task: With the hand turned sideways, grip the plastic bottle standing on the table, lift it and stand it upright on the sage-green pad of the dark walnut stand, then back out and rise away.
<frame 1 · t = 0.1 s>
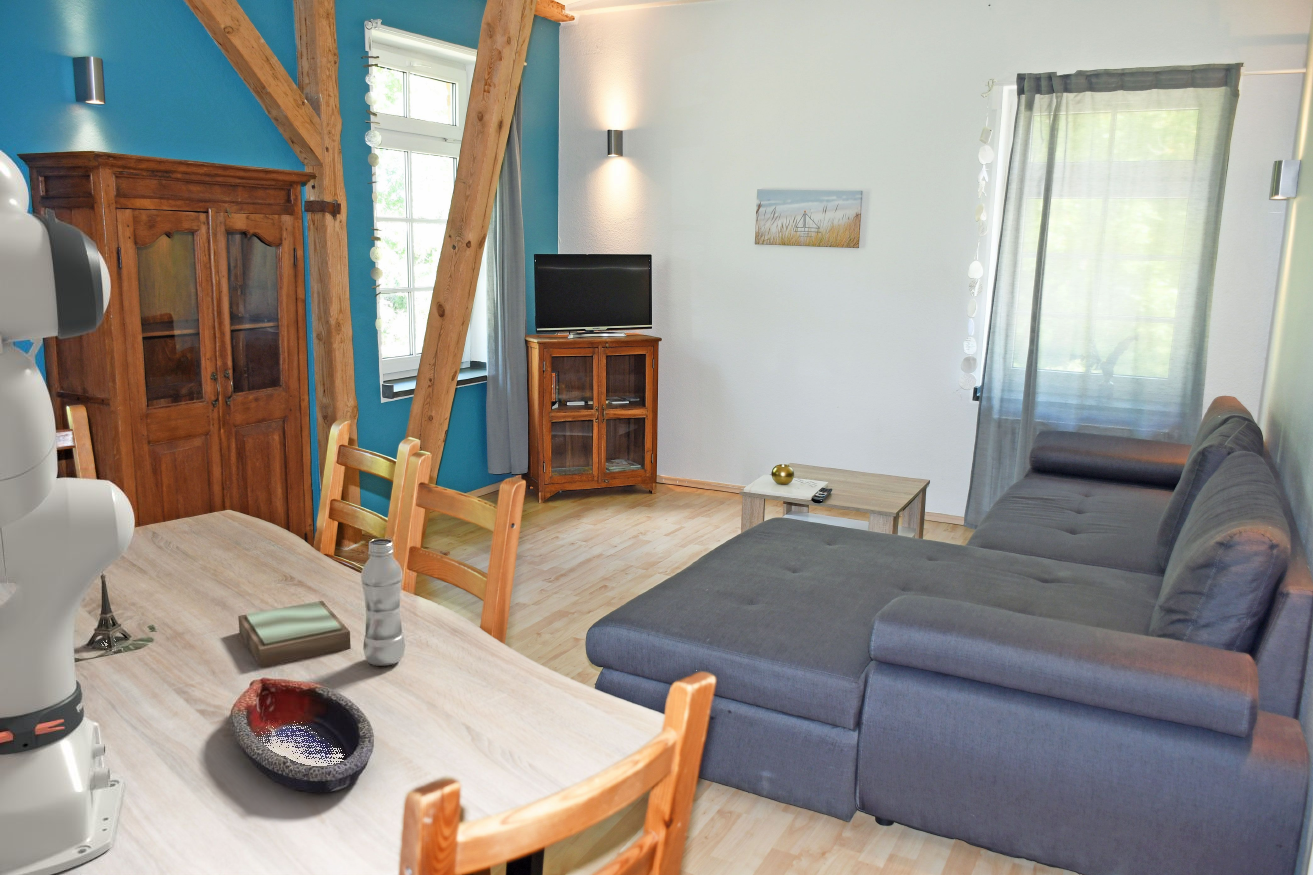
eiffel tower figurine: (108, 648, 159), on the table
dish: (301, 749, 129), on the table
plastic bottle: (384, 663, 155), on the table
walnut stand: (294, 640, 162), on the table
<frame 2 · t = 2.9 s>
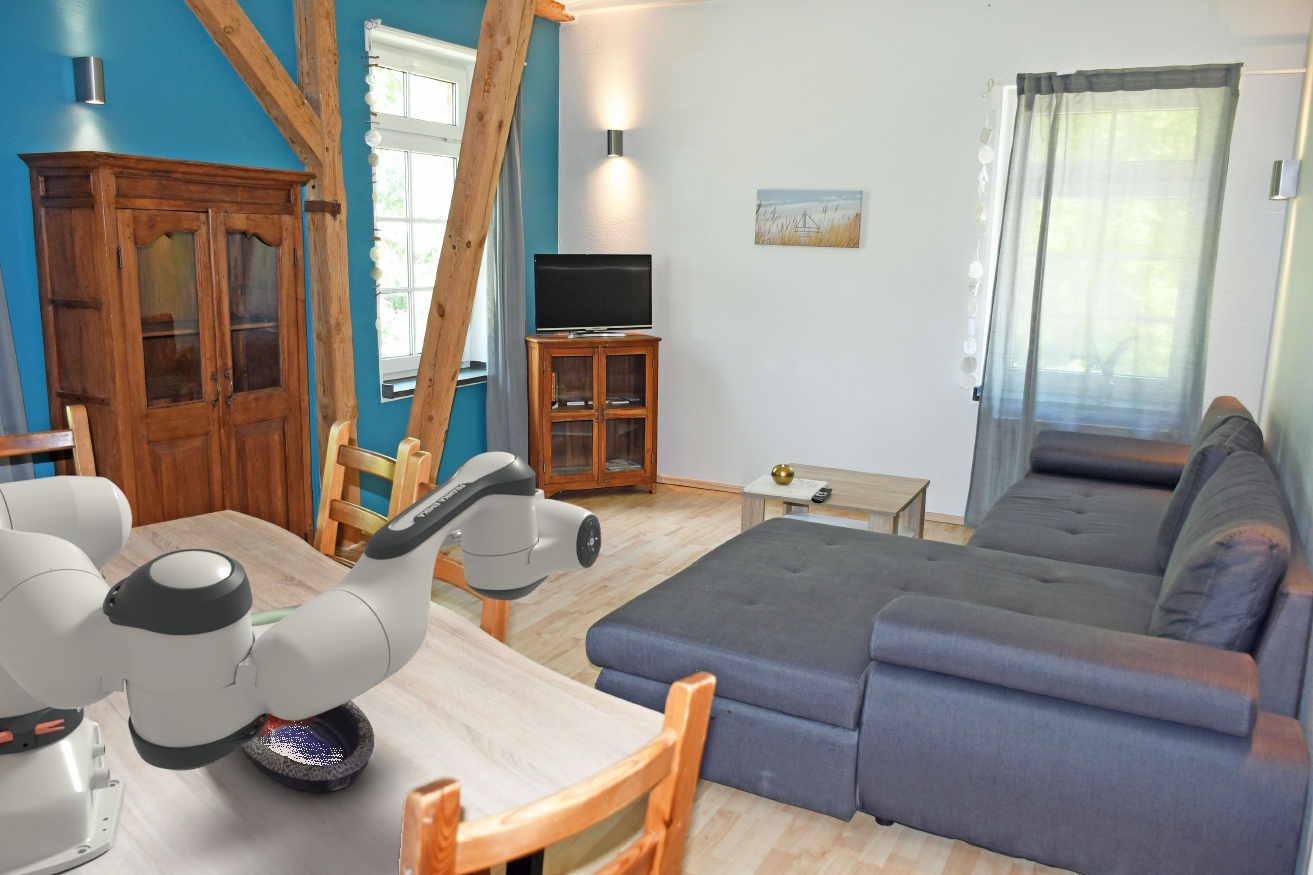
hand: (434, 509, 142), 28 cm above the table, tool horizontal, fingers open, 8 cm apart
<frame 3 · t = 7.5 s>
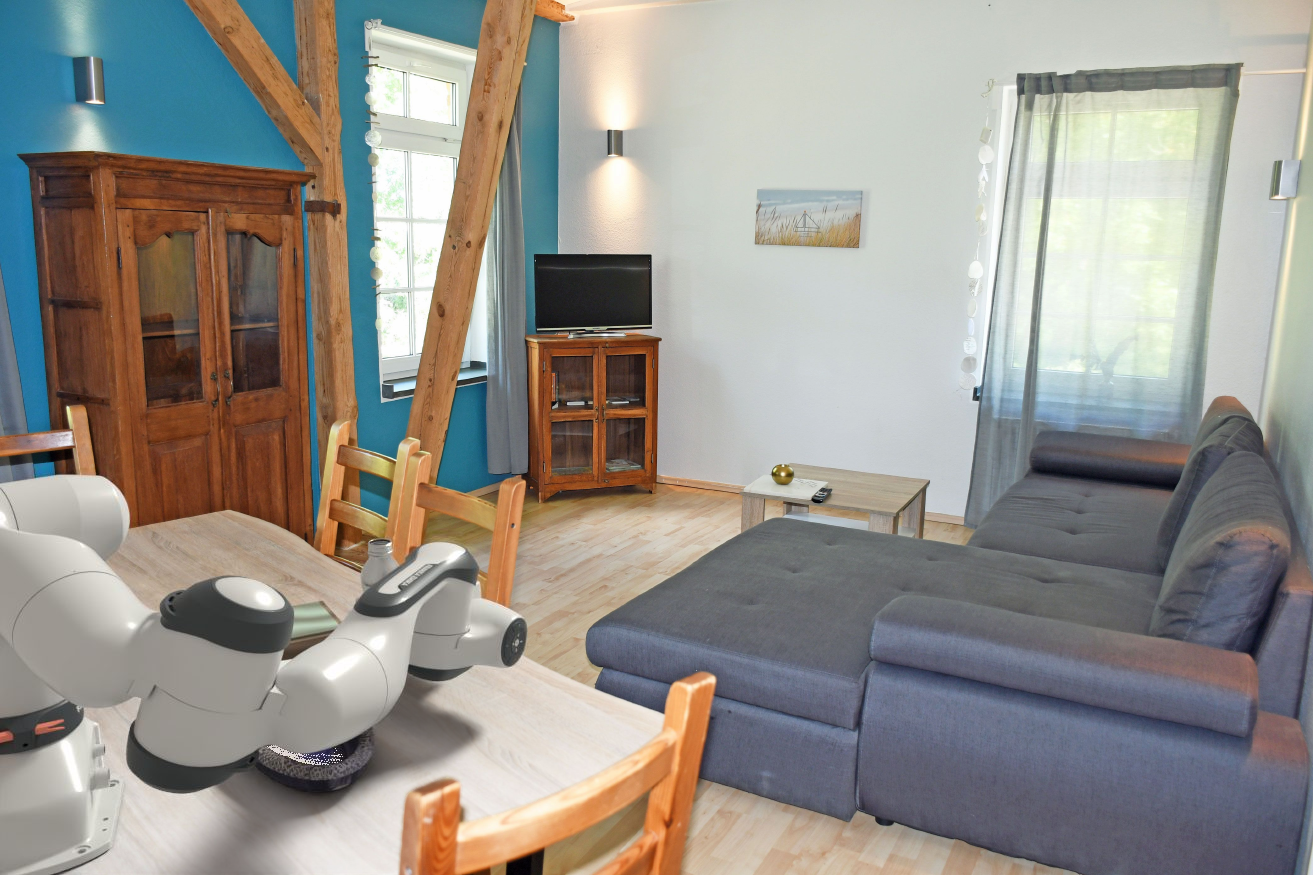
hand: (378, 595, 153), 11 cm above the table, tool horizontal, fingers closed on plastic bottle, 6 cm apart
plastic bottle: (384, 662, 155), on the table, touching gripper
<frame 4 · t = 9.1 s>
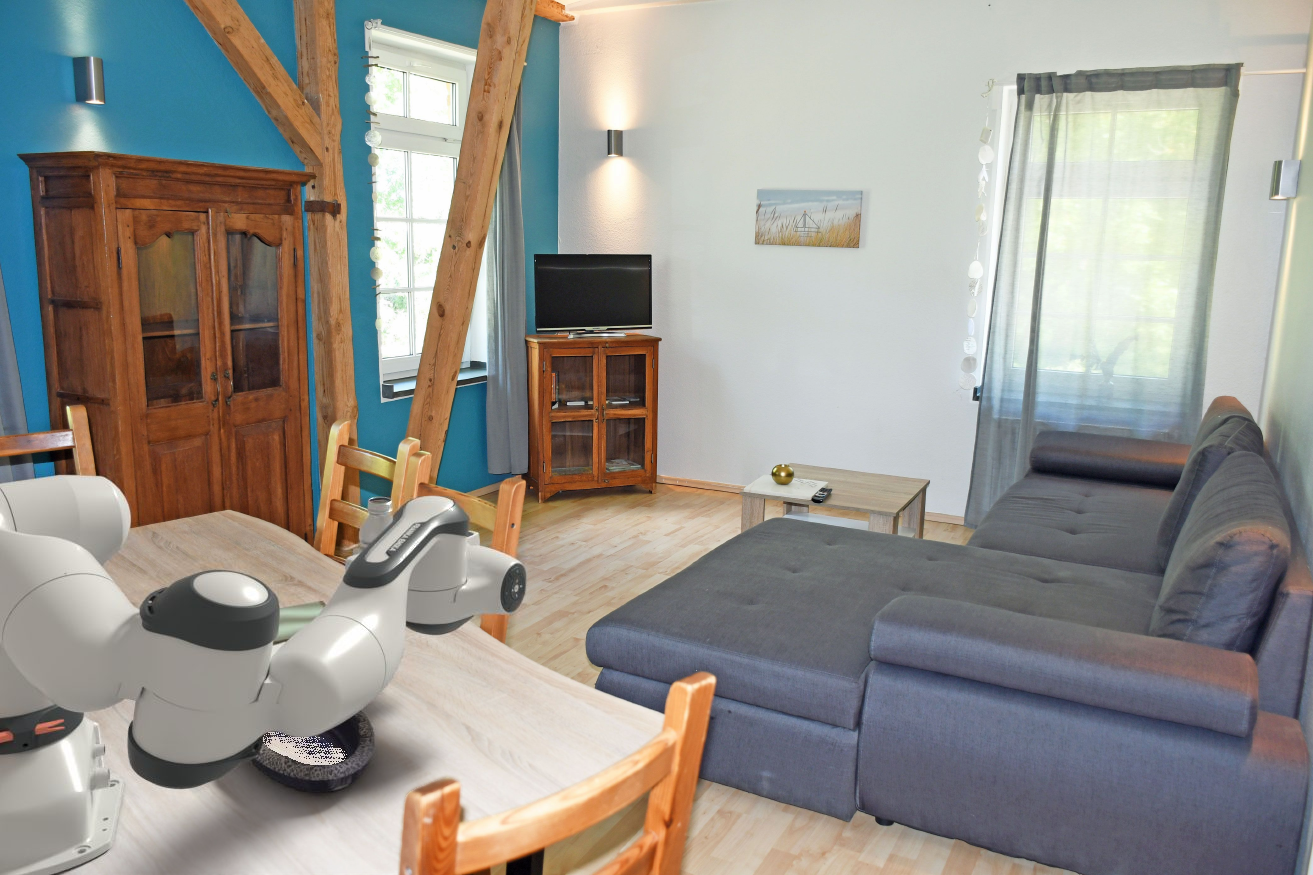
hand: (376, 546, 152), 19 cm above the table, tool horizontal, fingers closed on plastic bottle, 6 cm apart
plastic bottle: (380, 622, 154), point 7 cm above the table, touching gripper
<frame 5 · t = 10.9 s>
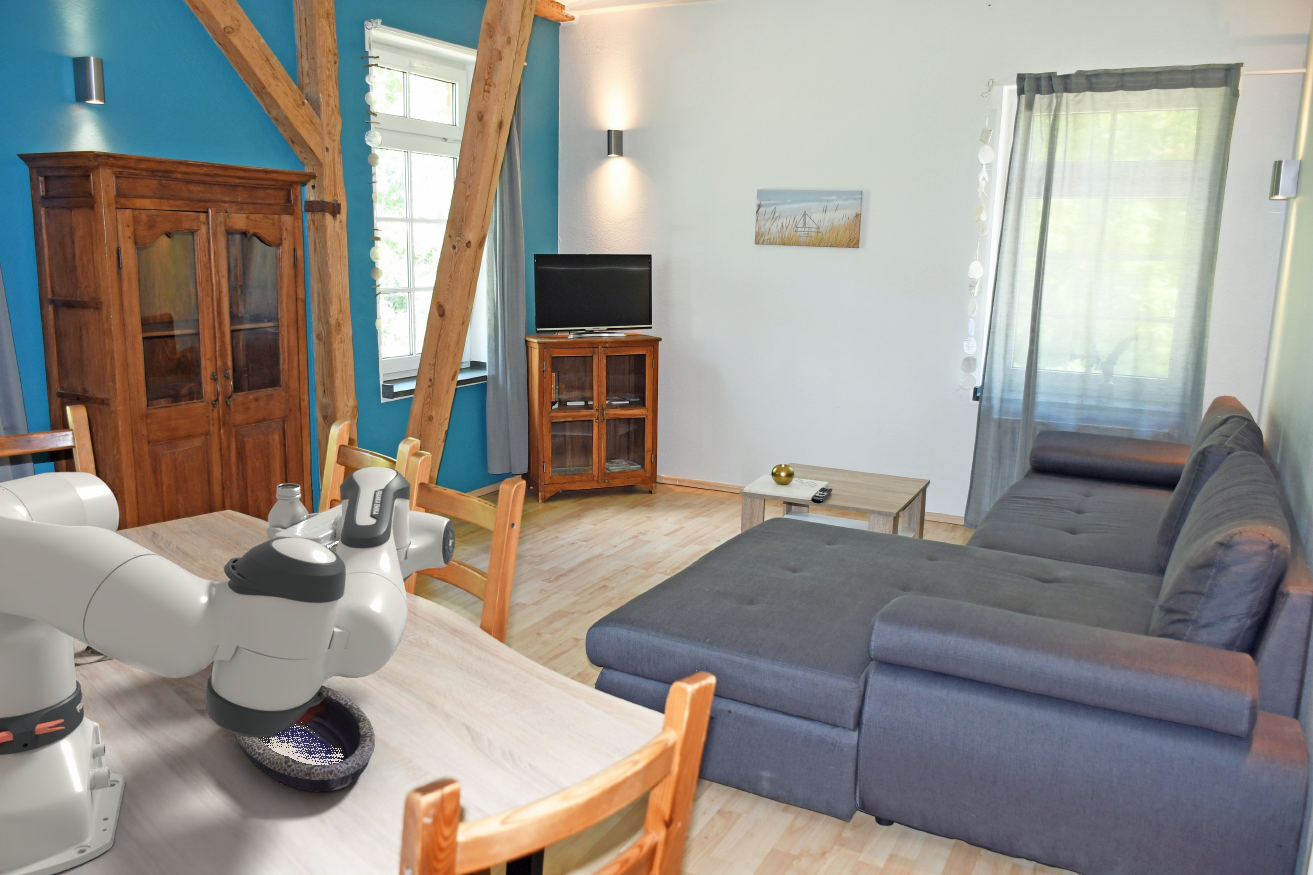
hand: (283, 525, 158), 20 cm above the table, tool horizontal, fingers closed on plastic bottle, 6 cm apart
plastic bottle: (289, 603, 161), point 6 cm above the table, touching gripper
when the fingers open (16 cm above the table, at t = 12.4 s): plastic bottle stays where it is, resting on walnut stand.
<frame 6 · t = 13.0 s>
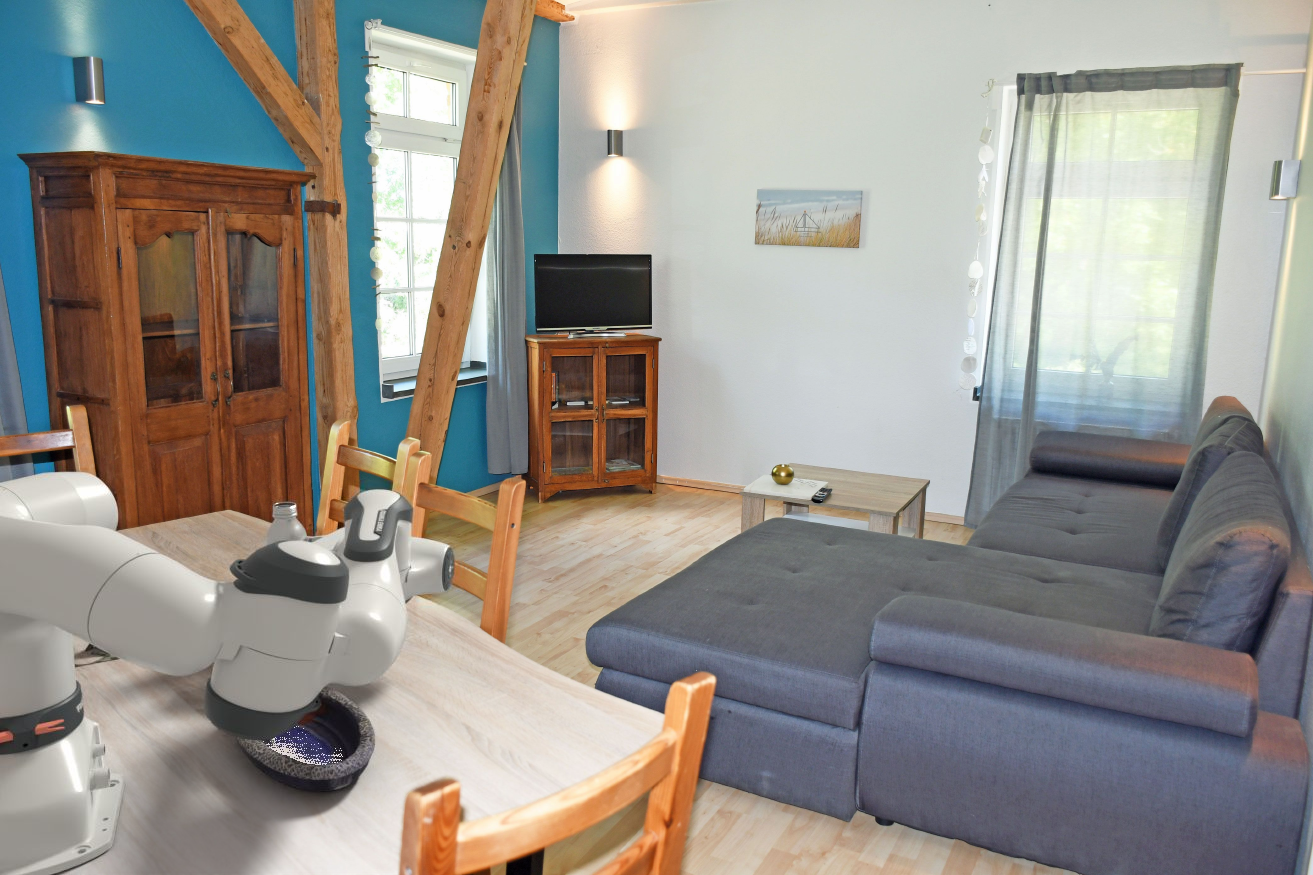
hand: (284, 550, 159), 16 cm above the table, tool horizontal, fingers open, 8 cm apart
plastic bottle: (291, 621, 162), point 3 cm above the table, touching walnut stand
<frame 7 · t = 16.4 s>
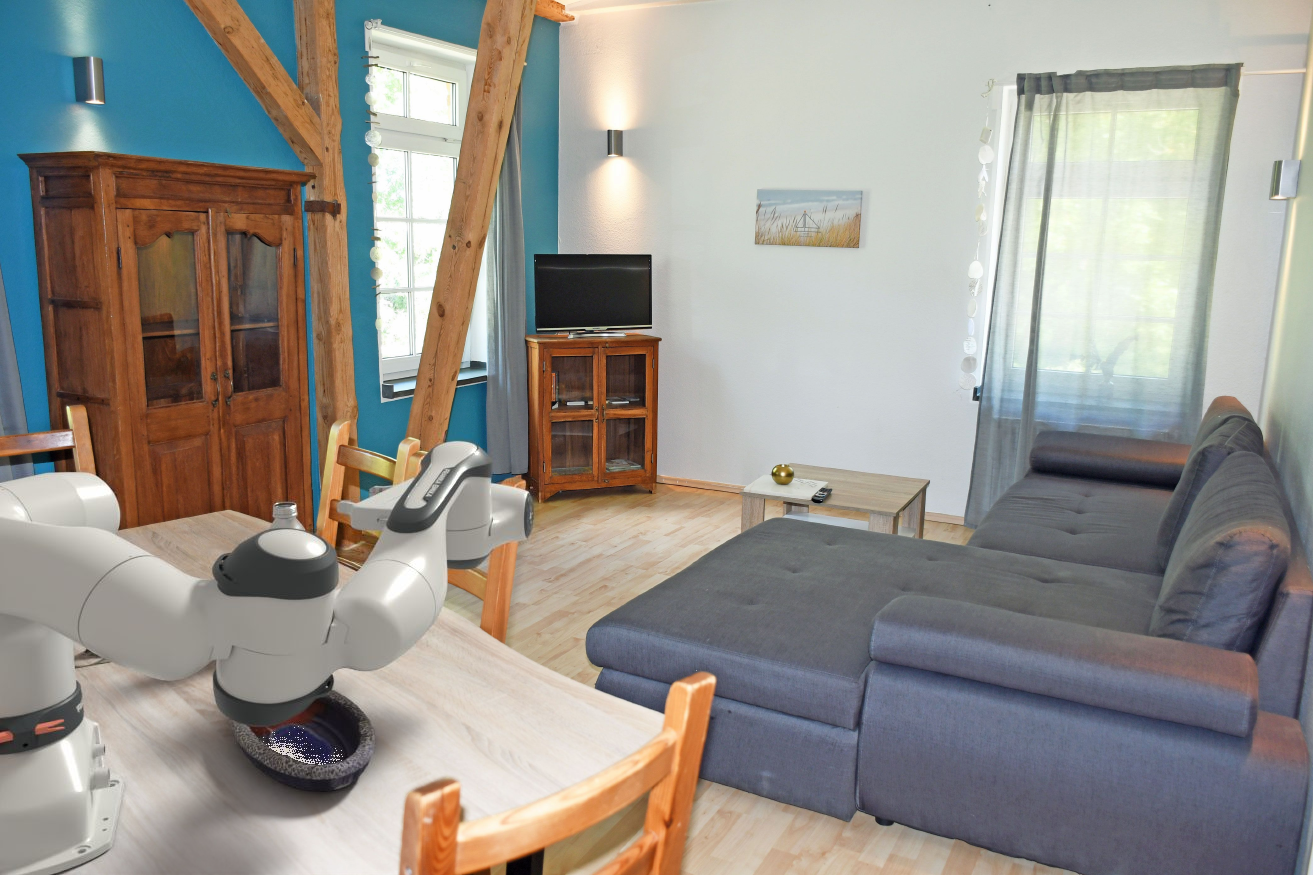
hand: (356, 498, 155), 25 cm above the table, tool horizontal, fingers open, 8 cm apart
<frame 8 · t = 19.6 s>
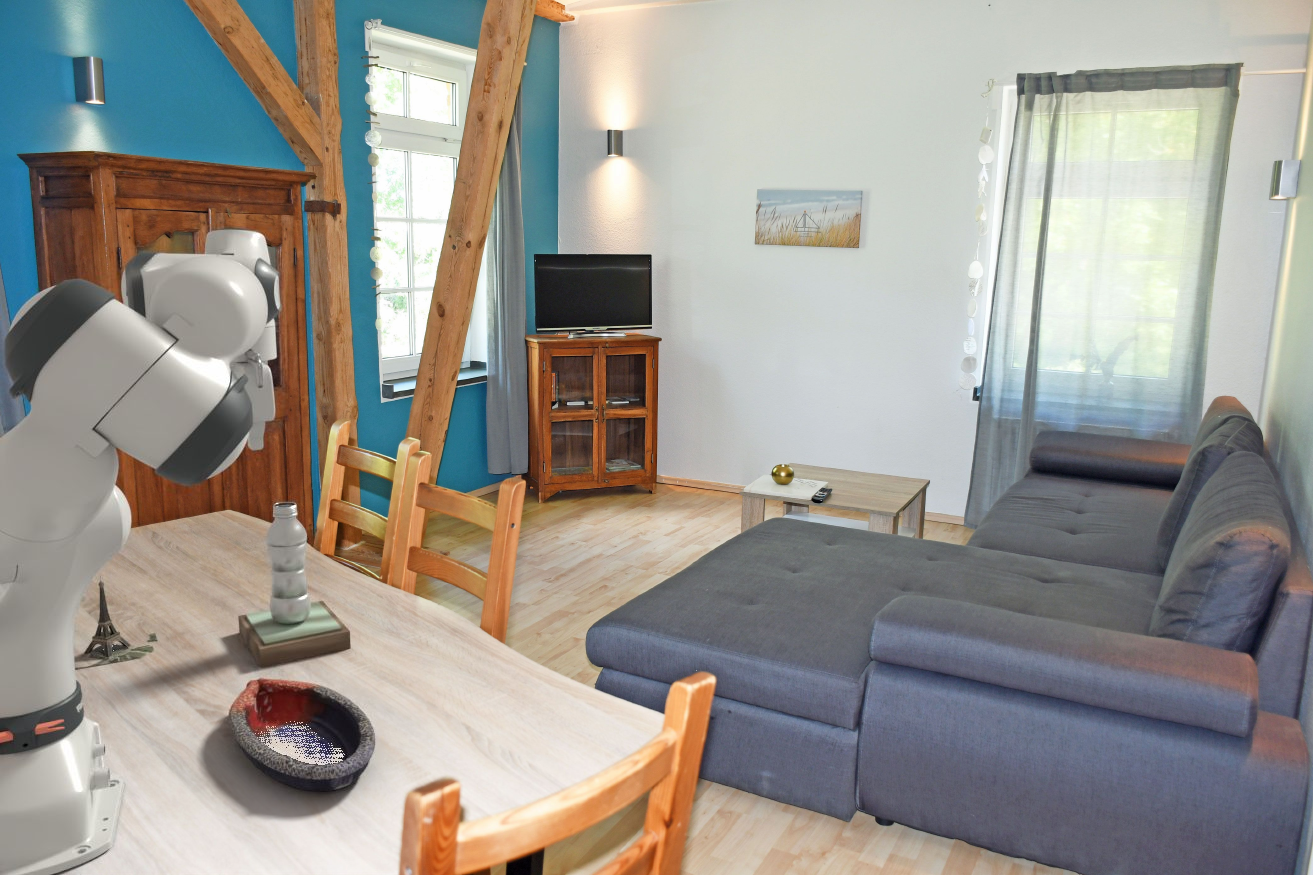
hand: (248, 442, 139), 37 cm above the table, tool pointing down, fingers open, 8 cm apart
at the end: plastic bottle inside the target area on the walnut stand (0.4 cm from its centre), point 3.2 cm above the walnut stand's base; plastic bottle tilted 0°; the gripper is holding nothing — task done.
